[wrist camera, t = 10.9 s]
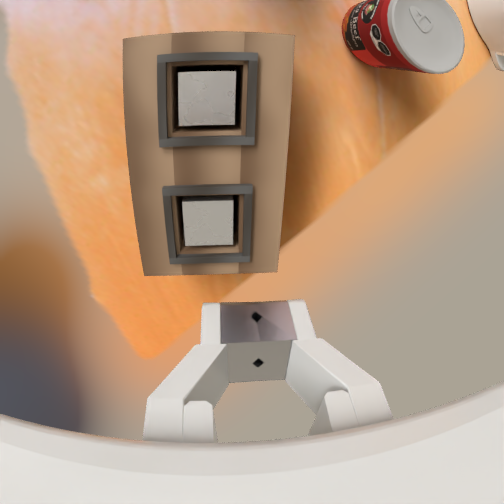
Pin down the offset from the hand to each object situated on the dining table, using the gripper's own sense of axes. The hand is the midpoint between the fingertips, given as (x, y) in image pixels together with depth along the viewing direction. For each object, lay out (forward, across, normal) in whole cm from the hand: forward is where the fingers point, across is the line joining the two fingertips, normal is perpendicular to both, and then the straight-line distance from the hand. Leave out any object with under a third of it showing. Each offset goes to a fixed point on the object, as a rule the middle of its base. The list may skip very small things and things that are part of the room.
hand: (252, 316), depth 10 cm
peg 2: (+25, +2, +5) cm, 26 cm away
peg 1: (+25, +2, -5) cm, 26 cm away
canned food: (+27, -15, -12) cm, 33 cm away
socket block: (+26, +2, 0) cm, 26 cm away
